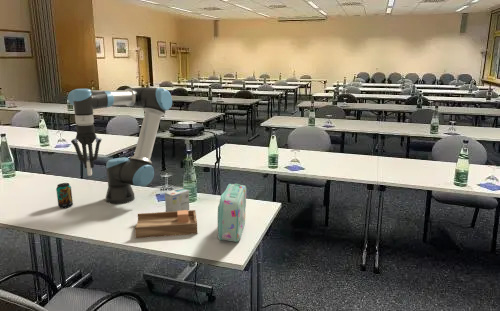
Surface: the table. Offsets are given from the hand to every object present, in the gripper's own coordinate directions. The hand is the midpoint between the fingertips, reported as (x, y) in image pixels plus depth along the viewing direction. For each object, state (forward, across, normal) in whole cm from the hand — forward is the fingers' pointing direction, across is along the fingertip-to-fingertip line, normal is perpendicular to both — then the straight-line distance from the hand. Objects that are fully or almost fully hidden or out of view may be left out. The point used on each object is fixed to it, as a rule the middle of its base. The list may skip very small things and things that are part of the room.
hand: (90, 174), depth 183 cm
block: (+22, +41, -9) cm, 48 cm away
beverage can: (+25, -19, +26) cm, 41 cm away
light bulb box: (+25, +39, +10) cm, 47 cm away
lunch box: (+25, +63, -20) cm, 71 cm away
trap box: (+24, +34, -11) cm, 43 cm away
